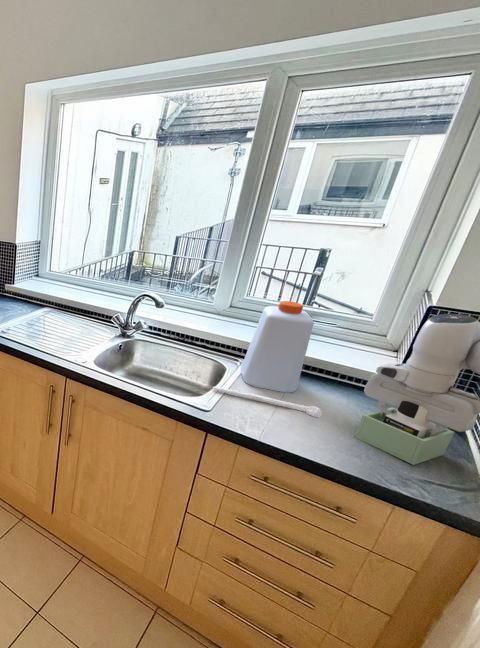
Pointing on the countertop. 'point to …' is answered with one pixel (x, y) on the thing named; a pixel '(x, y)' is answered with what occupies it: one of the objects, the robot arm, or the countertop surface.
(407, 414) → the medicine bottle
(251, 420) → the countertop surface
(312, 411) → the white knobbed stick
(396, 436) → the bin
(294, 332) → the plastic bottle
